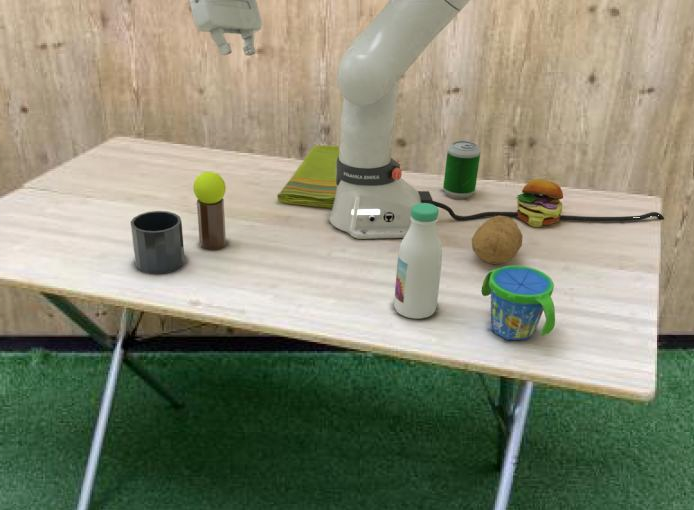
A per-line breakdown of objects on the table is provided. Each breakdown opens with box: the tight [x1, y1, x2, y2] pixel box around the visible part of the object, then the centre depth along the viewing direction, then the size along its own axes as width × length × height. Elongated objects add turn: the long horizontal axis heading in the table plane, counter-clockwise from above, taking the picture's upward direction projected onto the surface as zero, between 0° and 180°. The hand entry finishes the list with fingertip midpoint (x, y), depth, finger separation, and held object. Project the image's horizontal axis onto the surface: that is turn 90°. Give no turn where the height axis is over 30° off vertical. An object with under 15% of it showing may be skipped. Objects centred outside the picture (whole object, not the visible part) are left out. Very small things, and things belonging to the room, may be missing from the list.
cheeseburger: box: [515, 178, 564, 228], centre depth 175 cm, size 10×11×10 cm
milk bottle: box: [393, 203, 443, 320], centre depth 138 cm, size 8×8×20 cm
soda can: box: [442, 140, 481, 200], centre depth 184 cm, size 8×8×12 cm
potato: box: [471, 215, 523, 265], centre depth 158 cm, size 10×14×8 cm
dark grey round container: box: [130, 210, 186, 275], centre depth 155 cm, size 10×10×9 cm
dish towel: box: [276, 144, 339, 209], centre depth 193 cm, size 15×36×3 cm, turn 166°
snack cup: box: [481, 265, 556, 341], centre depth 135 cm, size 16×10×10 cm
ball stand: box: [196, 197, 227, 251], centre depth 161 cm, size 5×5×10 cm
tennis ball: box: [192, 171, 227, 204], centre depth 157 cm, size 6×6×6 cm
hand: (239, 54), depth 154 cm, fingers open, 8 cm apart
